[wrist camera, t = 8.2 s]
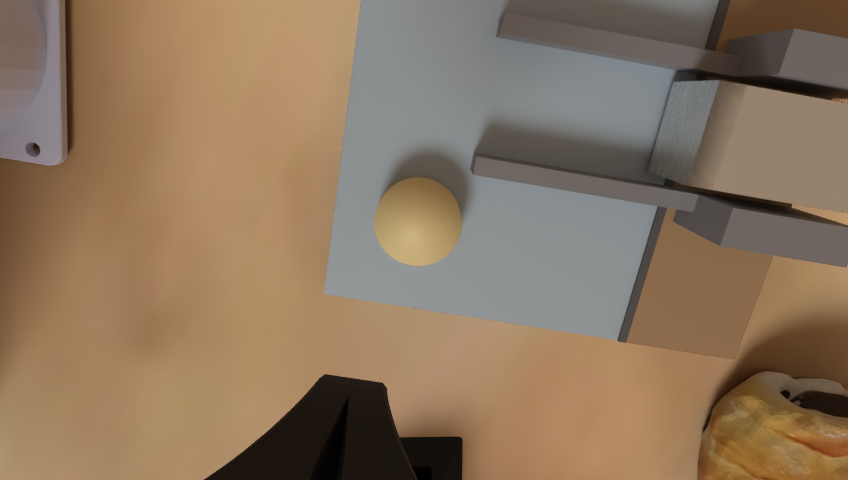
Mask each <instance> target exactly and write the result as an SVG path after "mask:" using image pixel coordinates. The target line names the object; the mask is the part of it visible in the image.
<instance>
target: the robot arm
mask: <svg viewBox="0 0 848 480" xmlns="http://www.w3.org/2000/svg"><path fill="white" fill-rule="evenodd" d="M34 143H36V144H37V145H38V146H39V148H40V154H39V155H38V154H37V153H36V152H35V151H34V148H33V146H34ZM67 154H68V146H67V89H66V32H65V0H0V158H6V159H12V160H18V161H25V162H31V163H37V164H43V165H58V164H61V163H63V162H64V161H65V160H66V158H67ZM204 480H418V479H417V477H416V475H415V472H414V470H413V468H412V466H411V464H410V462H409V460H408V457H407V455H406V453H405V450H404V448H403V445H402V443H401V440H400V437H399V435H398V432H397V430H396V427H395V424H394V420H393V417H392V414H391V410H390V406H389V402H388V396H387V388H386V387H385V385H384V384H383V383H380V382H373V381H367V380H360V379H353V378H347V377H340V376H333V375H327V374H325V375H324V376H322V377H321V378H319V380H318V381H317V382H316V383H315V384H314V386H313V387H312V388H311V389H310V390H309V391H308V392H307V394H306V395H305V396H304V397H303V398H302V399H301V400H300V401H299V402H298V403H297V404H296V405H295V406H294V407H293V408H292V409H291V410H290V411H289V412H288V413H287V414H286V415H285V416H284V417H283V418H282V419H280V420H279V421H278V422H277V423H276V424H275V425H274V426H273V427H272V428H271V429H270V430H269V431H267V432H266V433H265V434H264V435H263V436H261V437H260V438H259V439H258V440H257V441H255V442H254V443H253V444H252V445H251V446H249V447H248V448H247V449H246V450H245V451H243V452H242V453H241V454H239V455H238V456H237V457H235V458H234V459H233V460H231V461H230V462H229V463H227V464H226V465H225V466H223V467H222V468H220V469H219V470H217V471H216V472H215V473H213V474H212V475H210V476H209V477H207V478H206V479H204Z"/></svg>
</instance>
